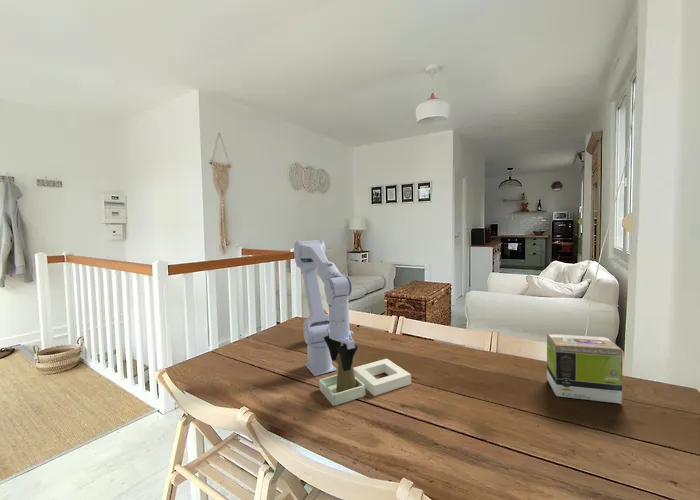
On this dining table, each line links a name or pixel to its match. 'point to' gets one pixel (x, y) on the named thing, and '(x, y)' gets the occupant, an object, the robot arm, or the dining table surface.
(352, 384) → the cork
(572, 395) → the tea box
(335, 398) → the tray
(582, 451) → the dining table surface
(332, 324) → the robot arm
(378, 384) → the holder
